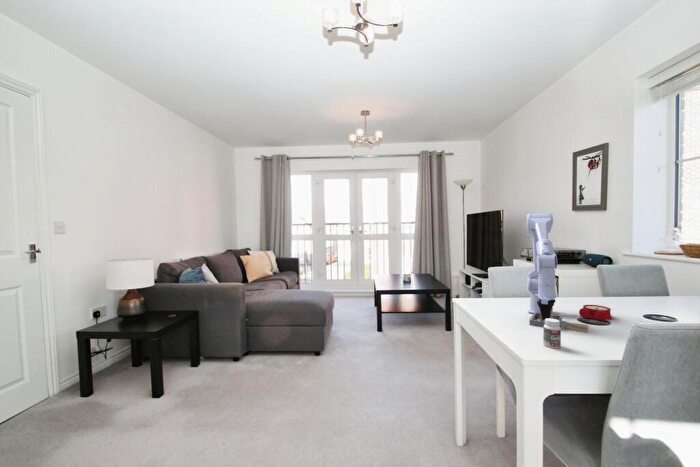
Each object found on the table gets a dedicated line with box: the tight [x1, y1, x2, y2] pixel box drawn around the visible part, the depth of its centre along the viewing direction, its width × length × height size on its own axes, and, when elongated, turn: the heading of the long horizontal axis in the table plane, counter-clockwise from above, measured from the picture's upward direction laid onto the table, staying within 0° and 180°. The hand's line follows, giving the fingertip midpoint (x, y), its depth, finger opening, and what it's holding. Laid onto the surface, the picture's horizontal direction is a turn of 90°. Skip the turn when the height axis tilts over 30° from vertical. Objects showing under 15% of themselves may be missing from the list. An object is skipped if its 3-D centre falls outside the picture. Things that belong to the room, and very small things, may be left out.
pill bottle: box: [542, 318, 562, 349], centre depth 104 cm, size 5×5×8 cm
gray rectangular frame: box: [529, 312, 563, 329], centre depth 128 cm, size 14×10×2 cm
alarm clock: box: [578, 304, 613, 322], centre depth 135 cm, size 10×6×15 cm
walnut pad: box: [565, 321, 589, 333], centre depth 122 cm, size 9×6×1 cm
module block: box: [539, 307, 554, 322], centre depth 128 cm, size 4×4×6 cm
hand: (546, 318), depth 128 cm, fingers closed on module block, 4 cm apart
